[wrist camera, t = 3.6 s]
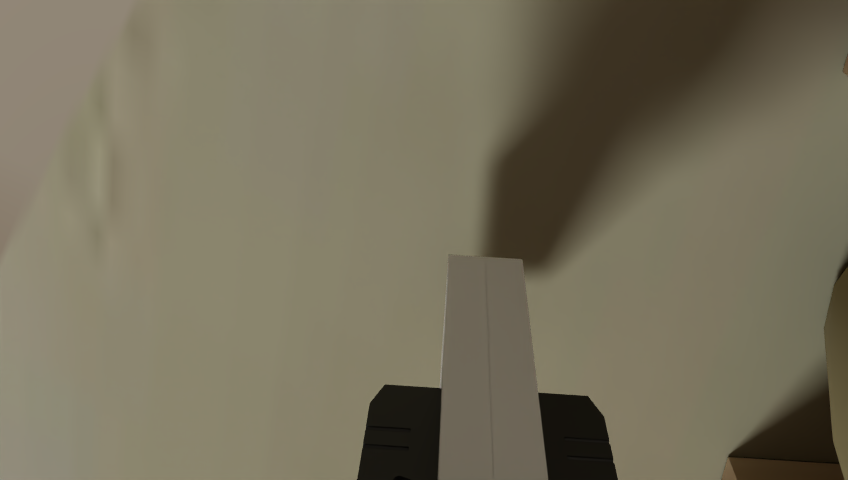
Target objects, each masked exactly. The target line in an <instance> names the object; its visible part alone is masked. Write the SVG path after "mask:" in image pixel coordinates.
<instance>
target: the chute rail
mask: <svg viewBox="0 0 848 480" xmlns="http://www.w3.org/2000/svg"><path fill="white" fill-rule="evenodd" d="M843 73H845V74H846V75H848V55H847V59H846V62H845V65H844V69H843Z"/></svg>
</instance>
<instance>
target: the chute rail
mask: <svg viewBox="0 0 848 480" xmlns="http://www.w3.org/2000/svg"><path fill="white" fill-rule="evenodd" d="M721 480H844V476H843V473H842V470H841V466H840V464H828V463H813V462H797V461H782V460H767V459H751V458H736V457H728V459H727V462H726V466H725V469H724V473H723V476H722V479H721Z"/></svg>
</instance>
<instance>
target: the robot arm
mask: <svg viewBox="0 0 848 480" xmlns="http://www.w3.org/2000/svg"><path fill="white" fill-rule="evenodd" d="M357 480H618V478H617V474H616V469H615V464H614V463H613V455H612V451H611V446H610V444H609V437H608V433H607V428H606V423H605V419H604V416H603V415H602V414H601V412H600V411H599V410H598V409H597V407H596V406H595V405H594V403H593V402H592V401H591V400H590V398H589V397H588V396H579V395H564V394H549V393H538V388H537V380H536V371H535V362H534V354H533V345H532V337H531V328H530V320H529V311H528V303H527V294H526V285H525V277H524V268H523V260H522V259H512V258H495V257H479V256H463V255H448V269H447V284H446V299H445V313H444V328H443V343H442V358H441V377H440V388H429V387H413V386H398V385H384V386H383V388H382V389H381V390H380V391H379V393H378V394H377V395H376V396H375V398H374V399H373V400H372V401H371V403H370V406H369V412H368V418H367V424H366V430H365V436H364V442H363V448H362V454H361V461H360V467H359V473H358V479H357Z"/></svg>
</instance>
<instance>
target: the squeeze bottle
mask: <svg viewBox="0 0 848 480" xmlns="http://www.w3.org/2000/svg"><path fill="white" fill-rule="evenodd" d="M824 335H825V347H826V360H827V372H828V385H829V397H830V410H831V423H832V435H833V443H834V446H835V449H836V453H837V456H838V459H839V463H840V466H841V470H842V473H843V476H844V480H848V267H847V268H846V270H845V271H844V272H843V274H842V275H841V276H840V278H839V279H838V280H837V282H836V283H835V285H834V288H833V292H832V297H831V301H830V305H829V309H828V313H827V318H826V322H825V326H824Z"/></svg>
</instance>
